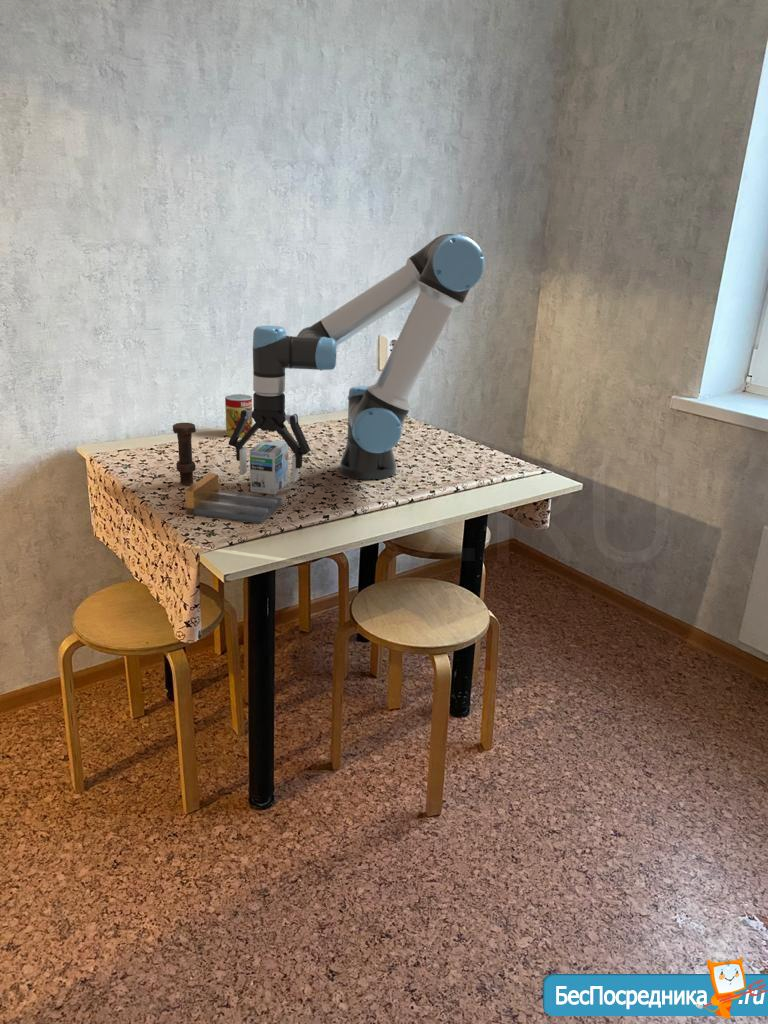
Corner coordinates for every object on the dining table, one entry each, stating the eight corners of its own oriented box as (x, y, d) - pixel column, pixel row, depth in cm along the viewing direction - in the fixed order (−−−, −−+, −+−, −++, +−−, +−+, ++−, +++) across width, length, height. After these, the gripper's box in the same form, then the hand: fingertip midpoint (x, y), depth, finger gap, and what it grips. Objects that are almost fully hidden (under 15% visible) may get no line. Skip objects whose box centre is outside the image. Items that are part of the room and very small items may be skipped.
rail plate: (281, 504, 182) (281, 482, 180) (261, 523, 170) (261, 500, 168) (210, 495, 185) (210, 473, 183) (186, 513, 173) (185, 490, 171)
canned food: (250, 440, 230) (249, 400, 226) (223, 438, 230) (222, 399, 226) (254, 433, 238) (254, 394, 233) (229, 431, 238) (228, 393, 233)
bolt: (183, 488, 188) (180, 429, 183) (170, 483, 191) (167, 425, 186) (202, 483, 193) (200, 425, 187) (189, 478, 196) (187, 421, 190)
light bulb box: (275, 495, 187) (275, 452, 183) (249, 492, 188) (248, 450, 184) (289, 481, 197) (289, 441, 193) (264, 479, 198) (263, 438, 194)
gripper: (323, 394, 185) (321, 478, 193) (226, 384, 190) (228, 466, 197) (314, 401, 178) (312, 487, 186) (213, 390, 183) (216, 475, 191)
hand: (269, 476), depth 192 cm, fingers open, 13 cm apart
